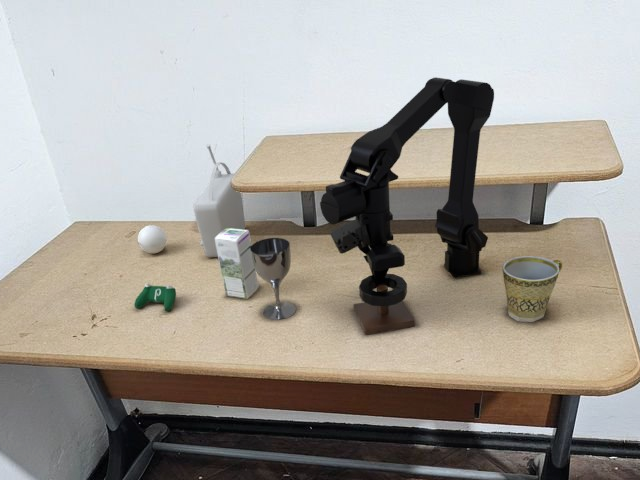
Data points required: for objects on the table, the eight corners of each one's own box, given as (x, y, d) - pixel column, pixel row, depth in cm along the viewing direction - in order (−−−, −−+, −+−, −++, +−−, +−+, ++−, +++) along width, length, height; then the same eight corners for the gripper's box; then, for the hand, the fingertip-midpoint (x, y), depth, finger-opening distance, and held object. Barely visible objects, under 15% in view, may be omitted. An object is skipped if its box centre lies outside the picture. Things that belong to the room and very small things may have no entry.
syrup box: (259, 287, 143) (250, 228, 135) (247, 300, 139) (236, 239, 131) (238, 284, 146) (227, 226, 138) (225, 297, 141) (213, 237, 133)
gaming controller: (176, 314, 140) (181, 288, 141) (168, 310, 137) (173, 283, 138) (141, 311, 143) (146, 286, 144) (132, 306, 140) (137, 281, 141)
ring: (397, 279, 128) (397, 269, 127) (412, 301, 121) (412, 291, 120) (354, 287, 127) (354, 278, 126) (367, 310, 120) (367, 300, 118)
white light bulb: (173, 245, 168) (167, 219, 164) (164, 257, 162) (157, 231, 158) (138, 246, 170) (131, 221, 166) (127, 259, 164) (120, 233, 160)
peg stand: (400, 302, 131) (399, 272, 128) (415, 326, 123) (414, 295, 119) (353, 310, 131) (351, 280, 127) (365, 335, 122) (363, 304, 118)
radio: (219, 227, 176) (202, 136, 162) (248, 225, 174) (233, 134, 161) (197, 262, 158) (176, 164, 144) (229, 261, 156) (211, 162, 143)
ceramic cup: (524, 333, 117) (529, 285, 112) (488, 311, 125) (491, 265, 119) (576, 311, 122) (583, 264, 116) (538, 291, 129) (543, 246, 124)
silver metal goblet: (293, 321, 129) (284, 255, 121) (256, 320, 131) (245, 255, 123) (301, 301, 136) (293, 237, 128) (266, 301, 138) (256, 237, 129)
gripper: (322, 197, 125) (329, 268, 133) (342, 233, 109) (348, 310, 118) (377, 188, 126) (380, 259, 134) (404, 223, 110) (406, 300, 119)
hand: (377, 281), depth 126 cm, fingers closed on ring, 2 cm apart
